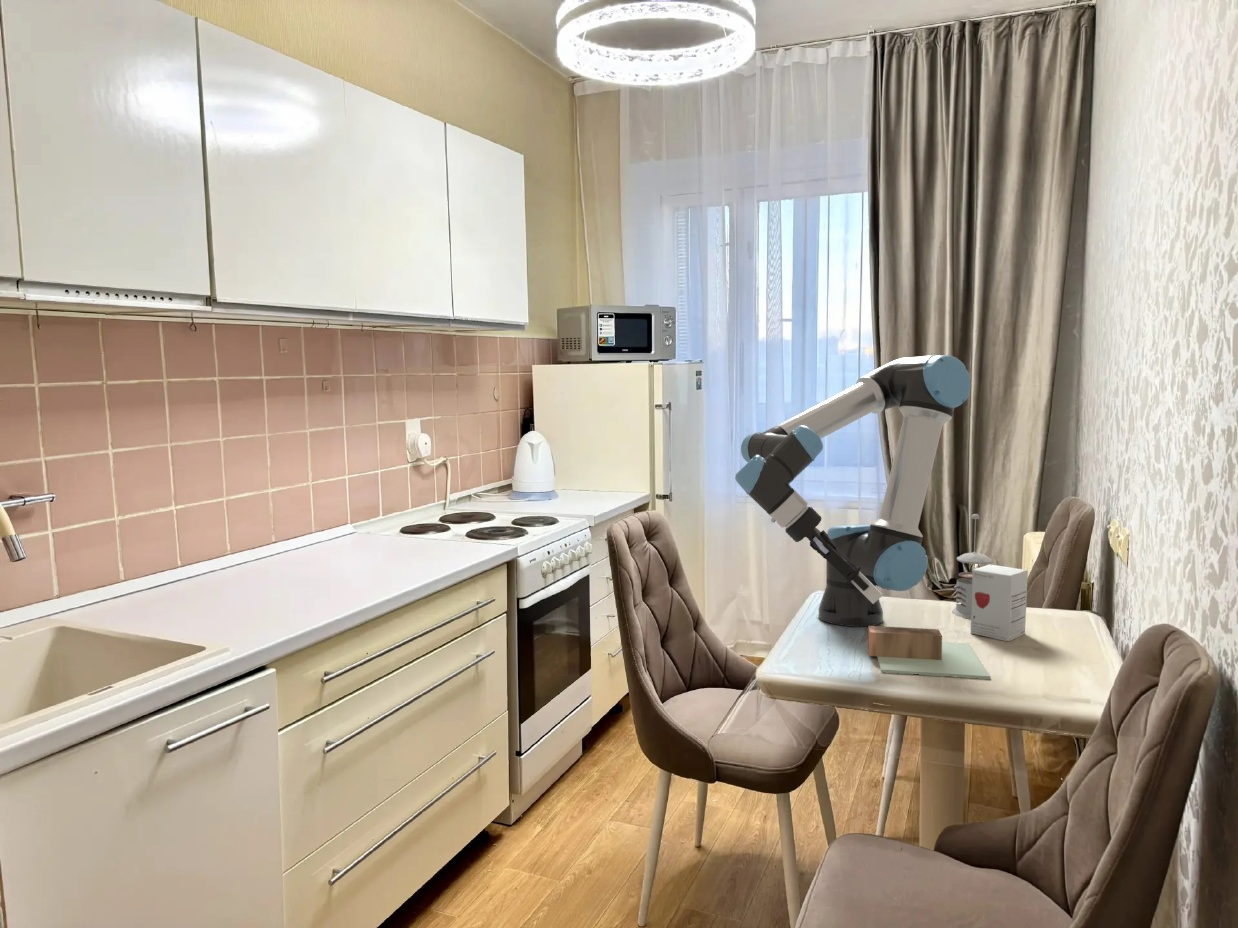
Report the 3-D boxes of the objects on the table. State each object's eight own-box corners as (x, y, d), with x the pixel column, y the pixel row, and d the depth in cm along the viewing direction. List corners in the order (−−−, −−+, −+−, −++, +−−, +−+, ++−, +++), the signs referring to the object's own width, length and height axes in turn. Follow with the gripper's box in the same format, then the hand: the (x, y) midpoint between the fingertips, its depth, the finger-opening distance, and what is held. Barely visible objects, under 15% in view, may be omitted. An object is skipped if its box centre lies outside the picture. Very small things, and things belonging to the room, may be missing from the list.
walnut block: (868, 625, 177) (938, 629, 174) (868, 648, 178) (937, 652, 175) (870, 632, 173) (942, 635, 169) (869, 655, 173) (941, 660, 170)
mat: (872, 640, 186) (872, 637, 186) (969, 645, 181) (969, 643, 181) (881, 672, 164) (881, 669, 164) (990, 679, 160) (990, 676, 160)
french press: (986, 608, 212) (989, 511, 210) (1003, 621, 201) (1006, 517, 199) (946, 608, 213) (949, 511, 211) (960, 620, 202) (963, 517, 200)
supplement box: (968, 633, 191) (970, 568, 189) (986, 626, 197) (988, 563, 195) (1009, 642, 184) (1011, 575, 183) (1026, 634, 190) (1028, 569, 189)
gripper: (784, 524, 184) (862, 603, 181) (782, 534, 171) (866, 618, 169) (809, 501, 182) (888, 580, 180) (809, 509, 169) (894, 594, 167)
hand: (877, 598), depth 174 cm, fingers closed
